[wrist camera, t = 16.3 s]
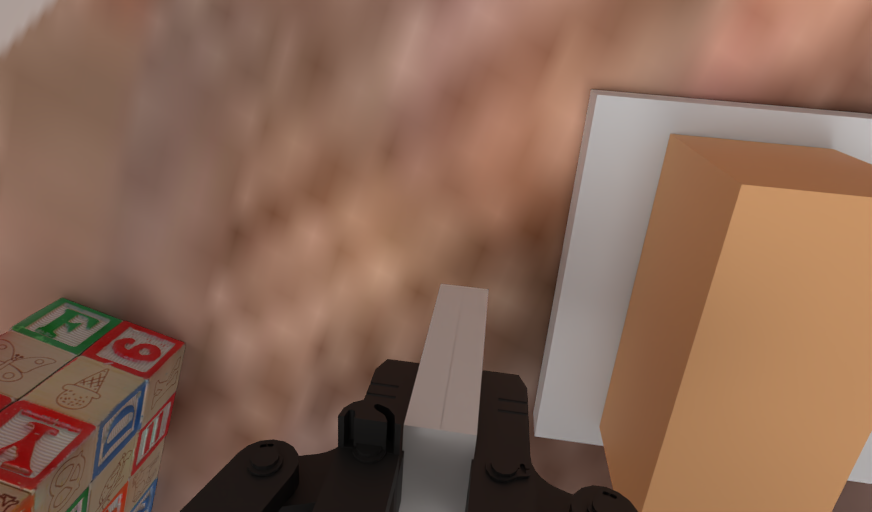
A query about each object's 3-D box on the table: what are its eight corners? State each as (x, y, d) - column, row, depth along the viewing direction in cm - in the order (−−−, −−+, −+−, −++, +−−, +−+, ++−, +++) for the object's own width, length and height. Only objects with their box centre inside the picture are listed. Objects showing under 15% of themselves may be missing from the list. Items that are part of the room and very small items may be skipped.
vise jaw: (725, 444, 22) (796, 583, 17) (599, 426, 23) (627, 557, 17) (833, 148, 17) (981, 208, 12) (670, 133, 18) (741, 184, 12)
